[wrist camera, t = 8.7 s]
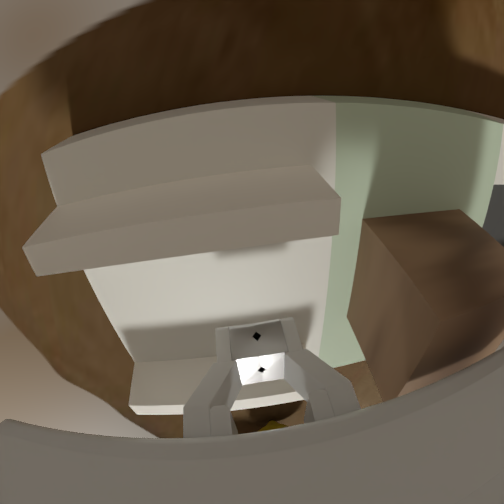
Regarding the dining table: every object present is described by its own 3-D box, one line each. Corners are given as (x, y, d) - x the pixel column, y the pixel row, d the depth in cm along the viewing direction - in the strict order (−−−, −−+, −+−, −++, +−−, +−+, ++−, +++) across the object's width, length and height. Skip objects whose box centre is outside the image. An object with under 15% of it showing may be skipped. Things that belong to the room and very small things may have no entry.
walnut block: (459, 209, 12) (537, 281, 7) (432, 296, 15) (480, 370, 11) (362, 218, 12) (440, 321, 7) (346, 316, 15) (386, 411, 10)
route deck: (542, 131, 12) (594, 162, 7) (497, 285, 21) (529, 325, 17) (72, 135, 11) (-4, 184, 6) (157, 356, 20) (151, 429, 15)
